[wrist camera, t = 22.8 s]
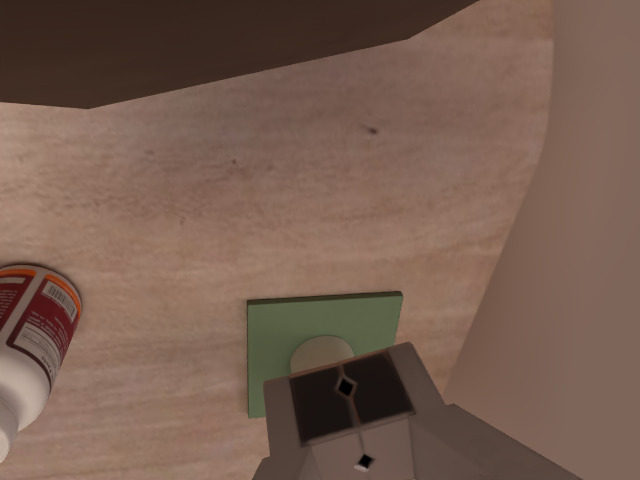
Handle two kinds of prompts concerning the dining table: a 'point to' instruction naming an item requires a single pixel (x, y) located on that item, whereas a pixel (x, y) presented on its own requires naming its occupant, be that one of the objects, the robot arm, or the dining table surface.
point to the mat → (313, 331)
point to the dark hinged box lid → (183, 42)
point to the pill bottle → (31, 342)
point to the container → (320, 353)
